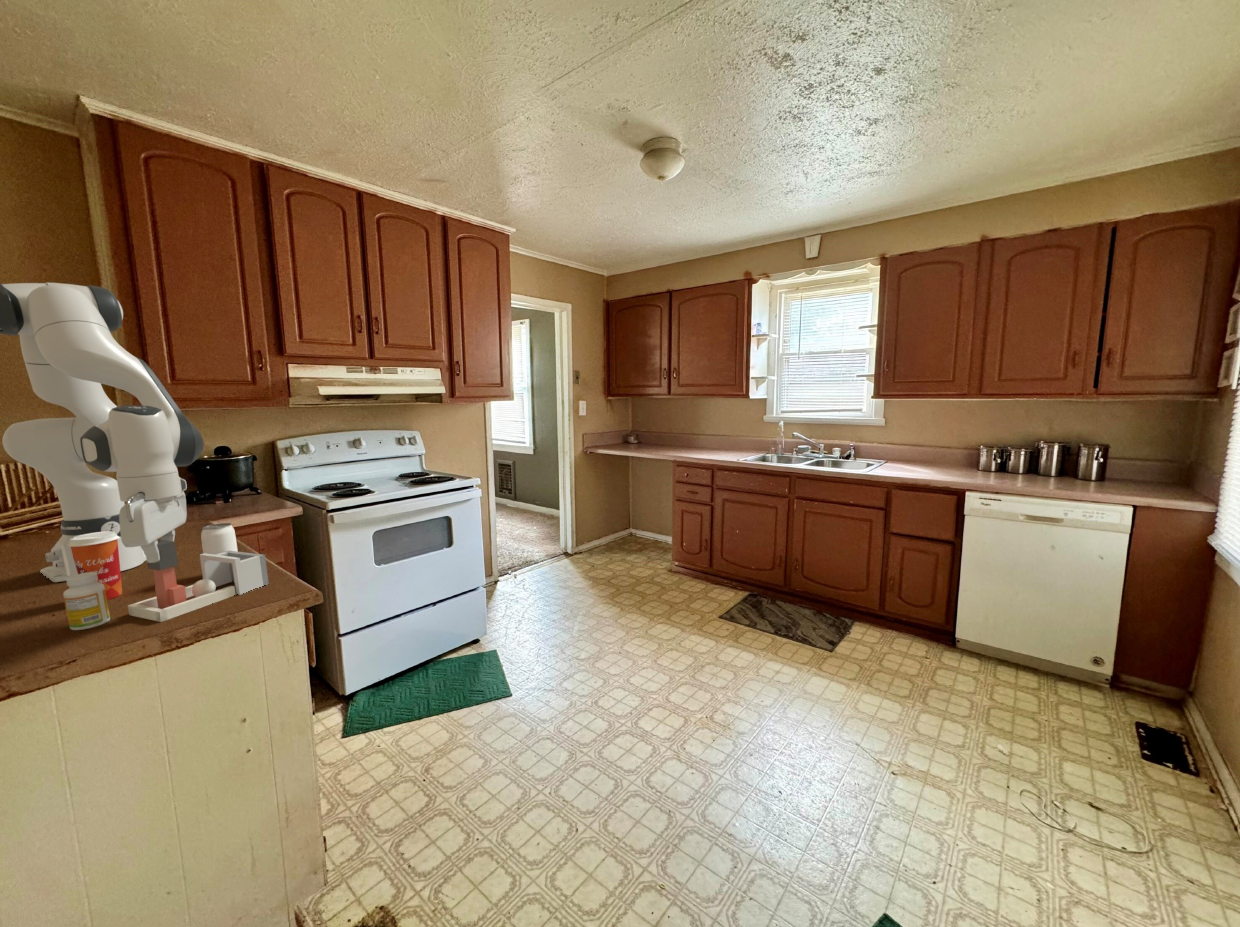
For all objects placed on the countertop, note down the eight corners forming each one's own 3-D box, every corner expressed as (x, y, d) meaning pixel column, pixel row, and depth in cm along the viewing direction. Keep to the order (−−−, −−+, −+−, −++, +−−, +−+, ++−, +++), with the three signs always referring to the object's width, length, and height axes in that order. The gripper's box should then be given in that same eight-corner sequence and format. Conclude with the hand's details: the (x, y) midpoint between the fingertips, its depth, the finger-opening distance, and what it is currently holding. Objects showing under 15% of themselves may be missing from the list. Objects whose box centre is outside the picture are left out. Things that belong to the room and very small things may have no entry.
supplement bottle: (89, 619, 98) (80, 571, 97) (118, 617, 99) (110, 569, 98) (61, 631, 93) (51, 581, 92) (92, 629, 94) (83, 579, 92)
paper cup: (71, 607, 105) (58, 542, 103) (88, 595, 111) (77, 533, 109) (121, 599, 108) (110, 536, 106) (135, 587, 115) (125, 528, 113)
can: (221, 578, 119) (214, 529, 117) (199, 577, 120) (192, 529, 119) (247, 569, 125) (240, 522, 124) (225, 568, 127) (219, 522, 125)
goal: (204, 588, 113) (199, 554, 112) (234, 579, 118) (229, 546, 117) (240, 594, 108) (235, 559, 107) (268, 584, 114) (264, 550, 113)
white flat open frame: (129, 615, 100) (127, 605, 99) (204, 590, 112) (203, 581, 112) (161, 621, 96) (159, 612, 96) (235, 595, 108) (234, 586, 108)
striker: (152, 609, 101) (141, 543, 99) (169, 603, 104) (159, 539, 102) (170, 612, 99) (159, 546, 97) (187, 606, 102) (177, 541, 100)
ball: (188, 600, 106) (185, 582, 106) (209, 593, 110) (206, 575, 110) (200, 602, 105) (197, 584, 104) (221, 595, 109) (218, 577, 108)
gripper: (148, 495, 90) (160, 569, 92) (189, 479, 109) (198, 541, 111) (101, 500, 88) (115, 576, 90) (151, 482, 106) (161, 546, 108)
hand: (161, 556), depth 100 cm, fingers closed on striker, 5 cm apart
